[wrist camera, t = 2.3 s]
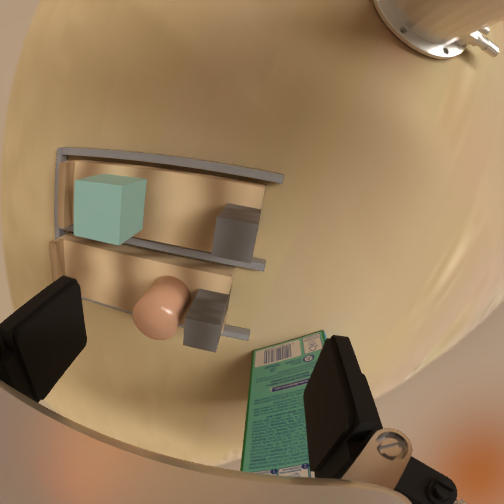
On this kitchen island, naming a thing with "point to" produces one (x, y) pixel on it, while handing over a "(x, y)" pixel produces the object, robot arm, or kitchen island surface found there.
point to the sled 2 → (146, 281)
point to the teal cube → (109, 207)
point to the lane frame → (178, 161)
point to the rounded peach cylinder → (162, 308)
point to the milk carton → (279, 408)
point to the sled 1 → (180, 206)
